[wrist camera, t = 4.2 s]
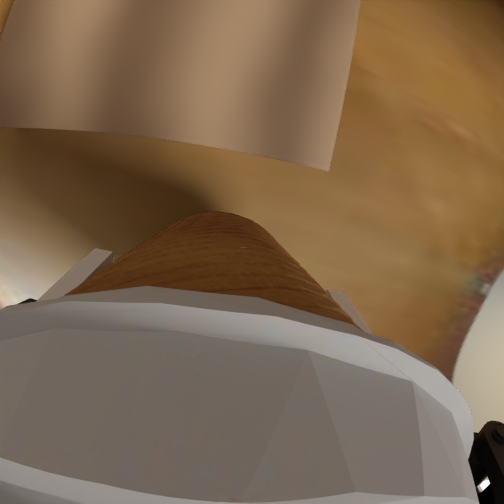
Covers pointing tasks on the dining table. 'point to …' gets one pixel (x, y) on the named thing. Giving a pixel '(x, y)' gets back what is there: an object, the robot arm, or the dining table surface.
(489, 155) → the dining table surface
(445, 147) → the dining table surface
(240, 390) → the disposable coffee cup
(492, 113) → the dining table surface
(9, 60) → the square wooden board
